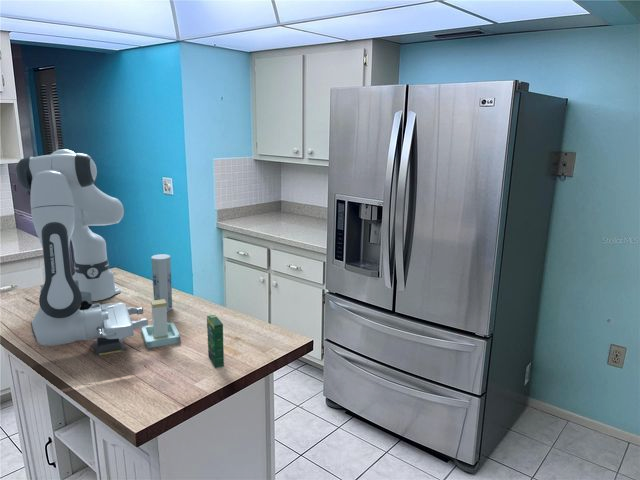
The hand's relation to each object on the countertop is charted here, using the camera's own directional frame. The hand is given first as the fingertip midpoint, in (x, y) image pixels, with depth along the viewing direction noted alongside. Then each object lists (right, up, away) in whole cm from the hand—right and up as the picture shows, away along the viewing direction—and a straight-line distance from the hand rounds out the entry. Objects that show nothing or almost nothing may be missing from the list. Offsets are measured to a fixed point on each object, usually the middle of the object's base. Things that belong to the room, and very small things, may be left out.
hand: (145, 315), depth 145 cm
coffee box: (+24, -12, -9) cm, 28 cm away
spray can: (-4, -2, +28) cm, 28 cm away
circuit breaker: (-28, -5, +11) cm, 31 cm away
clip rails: (-10, -9, -3) cm, 14 cm away
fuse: (+3, -7, +4) cm, 9 cm away
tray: (+3, -8, +4) cm, 10 cm away
